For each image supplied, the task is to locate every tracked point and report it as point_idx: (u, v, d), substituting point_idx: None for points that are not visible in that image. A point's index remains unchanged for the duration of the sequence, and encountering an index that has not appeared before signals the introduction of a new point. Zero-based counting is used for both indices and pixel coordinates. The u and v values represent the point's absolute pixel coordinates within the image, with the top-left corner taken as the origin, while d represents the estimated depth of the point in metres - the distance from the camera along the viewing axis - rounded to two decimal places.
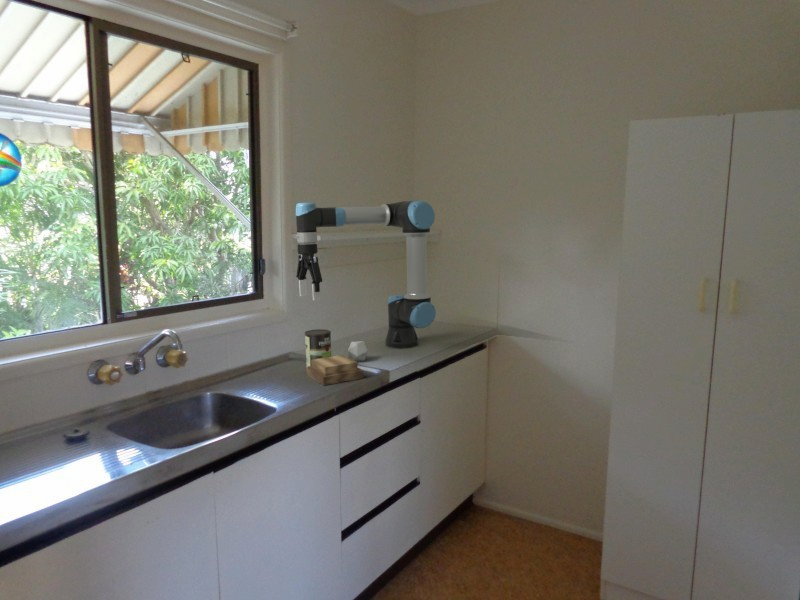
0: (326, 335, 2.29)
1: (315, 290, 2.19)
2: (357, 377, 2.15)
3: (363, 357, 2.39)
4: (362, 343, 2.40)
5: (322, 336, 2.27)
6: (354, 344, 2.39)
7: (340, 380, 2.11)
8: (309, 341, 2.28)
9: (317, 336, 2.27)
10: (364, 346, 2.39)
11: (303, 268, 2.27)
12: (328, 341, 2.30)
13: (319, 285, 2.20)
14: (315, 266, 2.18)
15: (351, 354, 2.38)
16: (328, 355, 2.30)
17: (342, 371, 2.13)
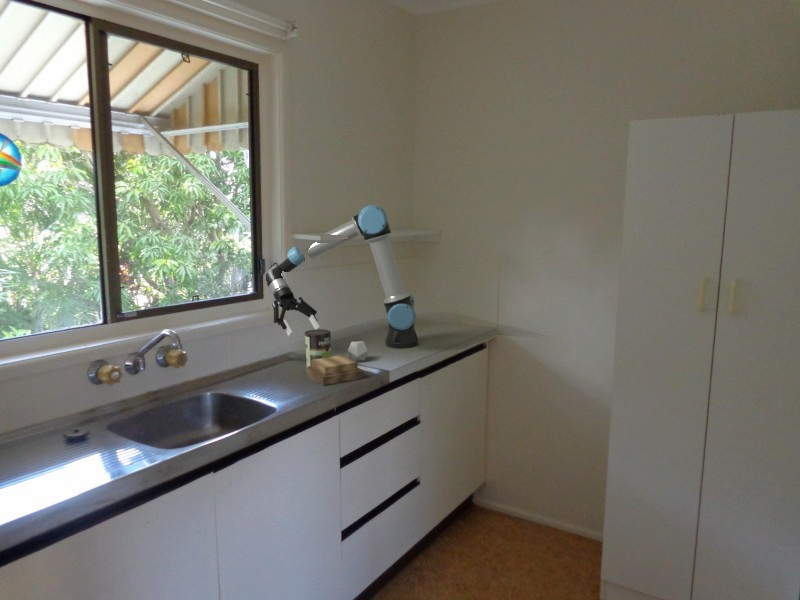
0: (326, 335, 2.29)
1: None
2: (357, 377, 2.15)
3: (363, 357, 2.39)
4: (362, 343, 2.40)
5: (322, 336, 2.27)
6: (354, 344, 2.39)
7: (340, 380, 2.11)
8: (309, 341, 2.28)
9: (317, 336, 2.27)
10: (364, 346, 2.39)
11: (298, 309, 2.44)
12: (328, 341, 2.30)
13: (284, 321, 2.33)
14: (274, 310, 2.36)
15: (351, 354, 2.38)
16: (328, 355, 2.30)
17: (342, 371, 2.13)
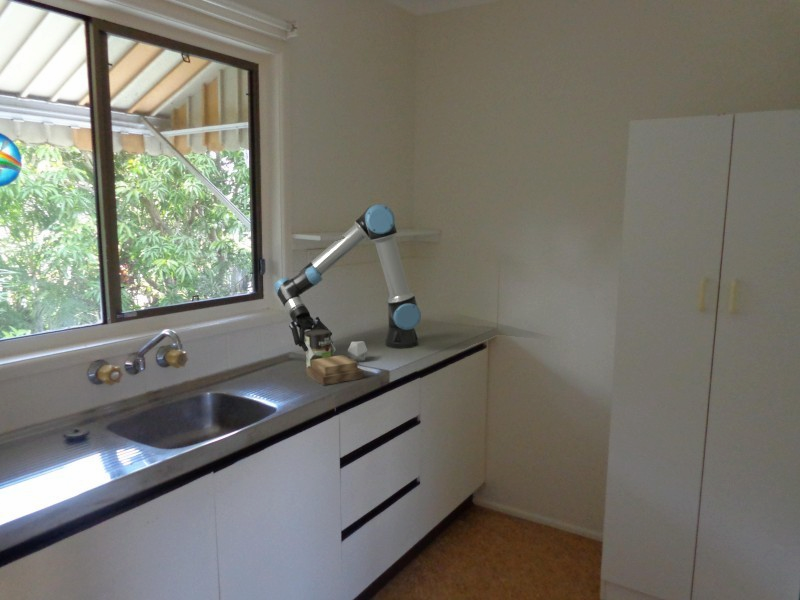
0: (326, 335, 2.29)
1: None
2: (357, 377, 2.15)
3: (363, 357, 2.39)
4: (362, 343, 2.40)
5: (322, 336, 2.27)
6: (354, 344, 2.39)
7: (340, 380, 2.11)
8: (309, 341, 2.28)
9: (317, 336, 2.27)
10: (364, 346, 2.39)
11: None
12: (328, 341, 2.30)
13: (306, 343, 2.28)
14: (292, 331, 2.31)
15: (351, 354, 2.38)
16: (328, 355, 2.30)
17: (342, 371, 2.13)
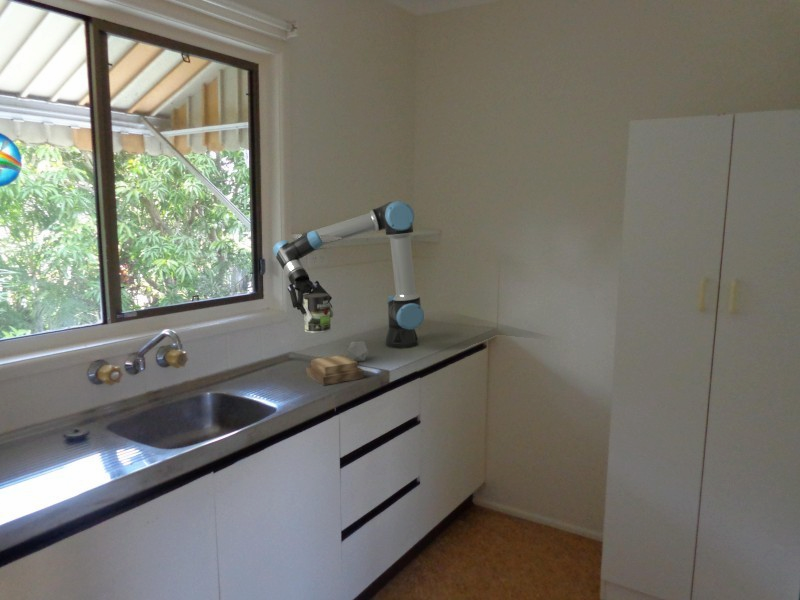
0: (325, 298, 2.22)
1: None
2: (357, 377, 2.15)
3: (363, 357, 2.39)
4: (362, 343, 2.40)
5: (321, 299, 2.21)
6: (354, 344, 2.39)
7: (340, 380, 2.11)
8: (307, 304, 2.22)
9: (315, 298, 2.21)
10: (364, 346, 2.39)
11: None
12: (327, 304, 2.24)
13: (304, 306, 2.22)
14: (291, 294, 2.25)
15: (351, 354, 2.38)
16: (327, 319, 2.24)
17: (342, 371, 2.13)
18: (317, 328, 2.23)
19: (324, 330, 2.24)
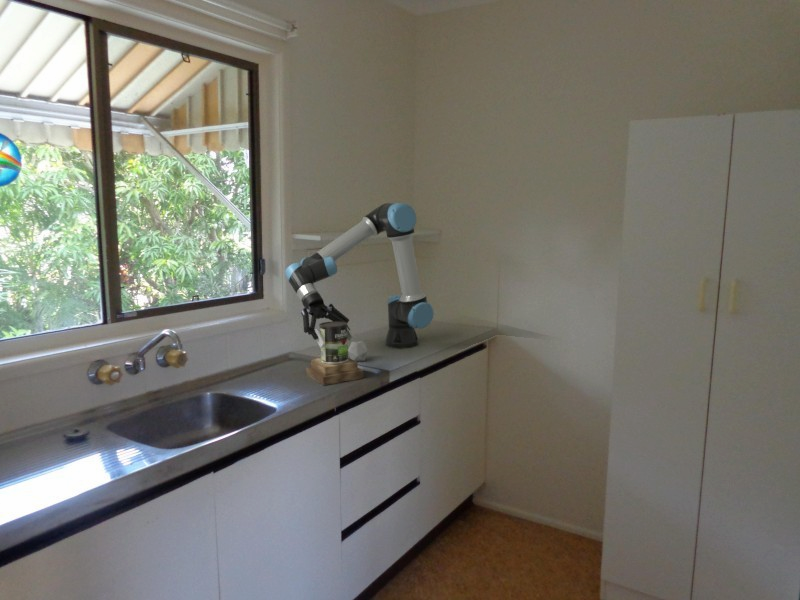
0: (343, 327, 2.13)
1: None
2: (357, 377, 2.15)
3: (363, 357, 2.39)
4: (362, 343, 2.40)
5: (338, 328, 2.12)
6: (354, 344, 2.39)
7: (340, 380, 2.11)
8: (325, 334, 2.12)
9: (333, 328, 2.11)
10: (364, 346, 2.39)
11: (328, 317, 2.22)
12: (345, 334, 2.14)
13: (316, 331, 2.11)
14: (303, 318, 2.15)
15: (351, 354, 2.38)
16: (345, 349, 2.15)
17: (342, 371, 2.13)
18: (335, 358, 2.13)
19: (342, 361, 2.14)
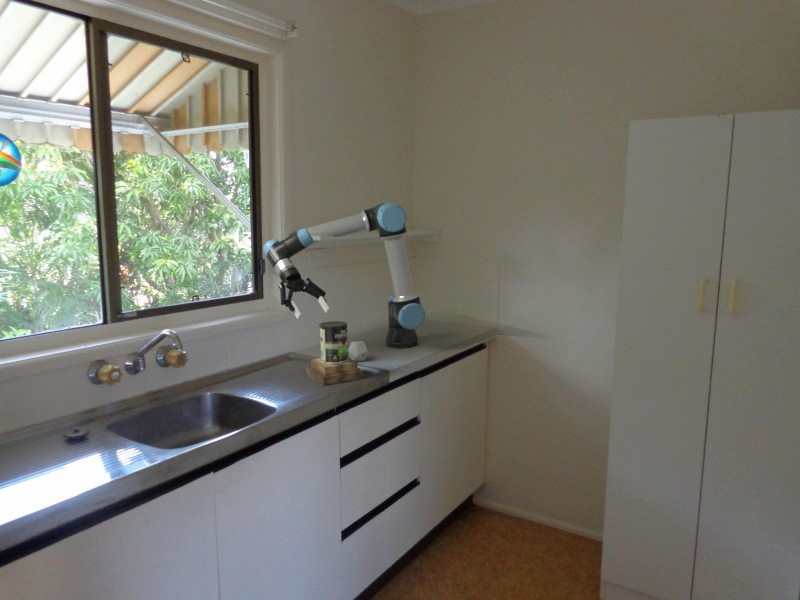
0: (343, 327, 2.13)
1: None
2: (357, 377, 2.15)
3: (363, 357, 2.39)
4: (362, 343, 2.40)
5: (338, 328, 2.12)
6: (354, 344, 2.39)
7: (340, 380, 2.11)
8: (325, 334, 2.12)
9: (333, 328, 2.11)
10: (364, 346, 2.39)
11: (306, 291, 2.30)
12: (345, 334, 2.14)
13: (292, 303, 2.19)
14: (281, 291, 2.22)
15: (351, 354, 2.38)
16: (345, 349, 2.15)
17: (342, 371, 2.13)
18: (335, 358, 2.13)
19: (342, 361, 2.14)
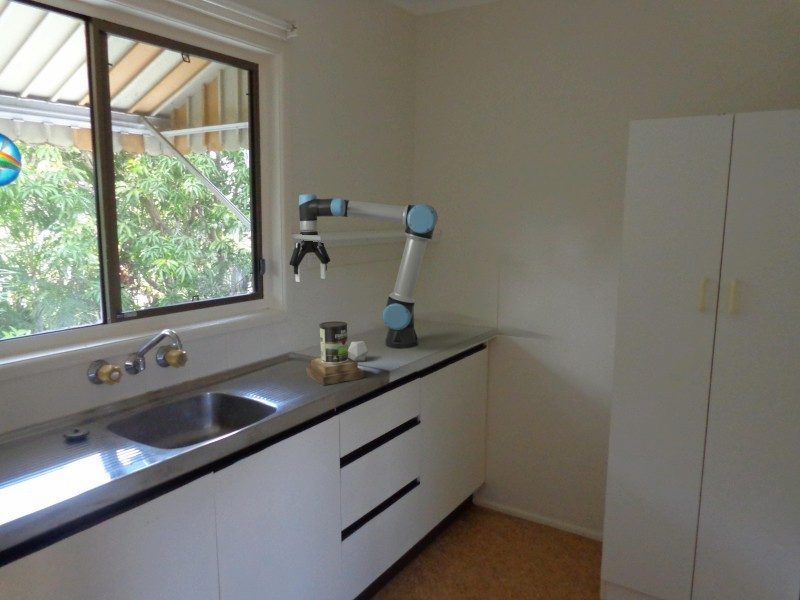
0: (343, 327, 2.13)
1: None
2: (357, 377, 2.15)
3: (363, 357, 2.39)
4: (362, 343, 2.40)
5: (338, 328, 2.12)
6: (354, 344, 2.39)
7: (340, 380, 2.11)
8: (325, 334, 2.12)
9: (333, 328, 2.11)
10: (364, 346, 2.39)
11: (315, 253, 2.54)
12: (345, 334, 2.14)
13: (298, 268, 2.46)
14: (294, 251, 2.46)
15: (351, 354, 2.38)
16: (345, 349, 2.15)
17: (342, 371, 2.13)
18: (335, 358, 2.13)
19: (342, 361, 2.14)
